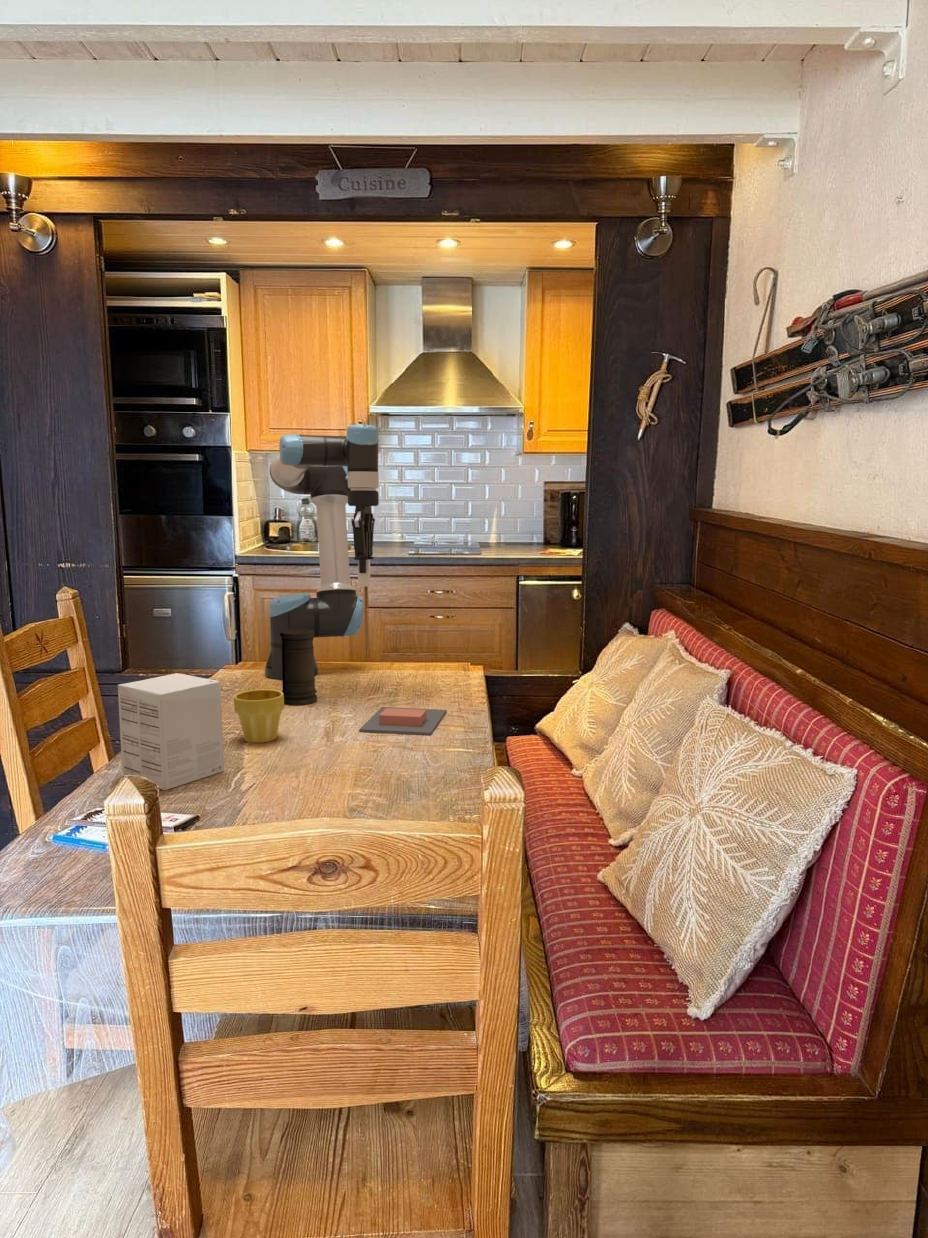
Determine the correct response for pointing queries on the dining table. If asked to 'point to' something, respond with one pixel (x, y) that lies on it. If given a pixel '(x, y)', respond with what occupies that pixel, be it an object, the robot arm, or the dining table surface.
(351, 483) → the robot arm
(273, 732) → the plant pot
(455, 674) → the dining table surface
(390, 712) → the card box
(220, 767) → the supplement box
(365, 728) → the mat
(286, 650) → the container
